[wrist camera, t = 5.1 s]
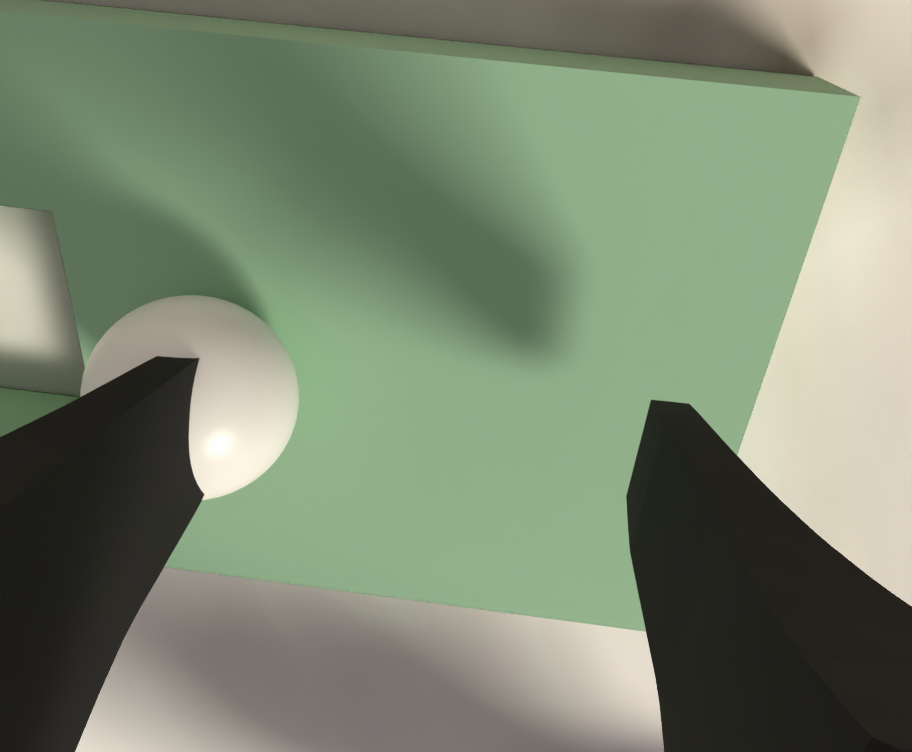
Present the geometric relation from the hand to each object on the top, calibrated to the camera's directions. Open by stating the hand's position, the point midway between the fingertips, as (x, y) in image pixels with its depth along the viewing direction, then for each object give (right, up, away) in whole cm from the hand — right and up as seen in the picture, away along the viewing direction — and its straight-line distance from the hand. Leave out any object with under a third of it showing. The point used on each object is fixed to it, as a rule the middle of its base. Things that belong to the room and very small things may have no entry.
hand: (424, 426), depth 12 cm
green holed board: (-5, +2, +4) cm, 7 cm away
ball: (-4, 0, +1) cm, 4 cm away
